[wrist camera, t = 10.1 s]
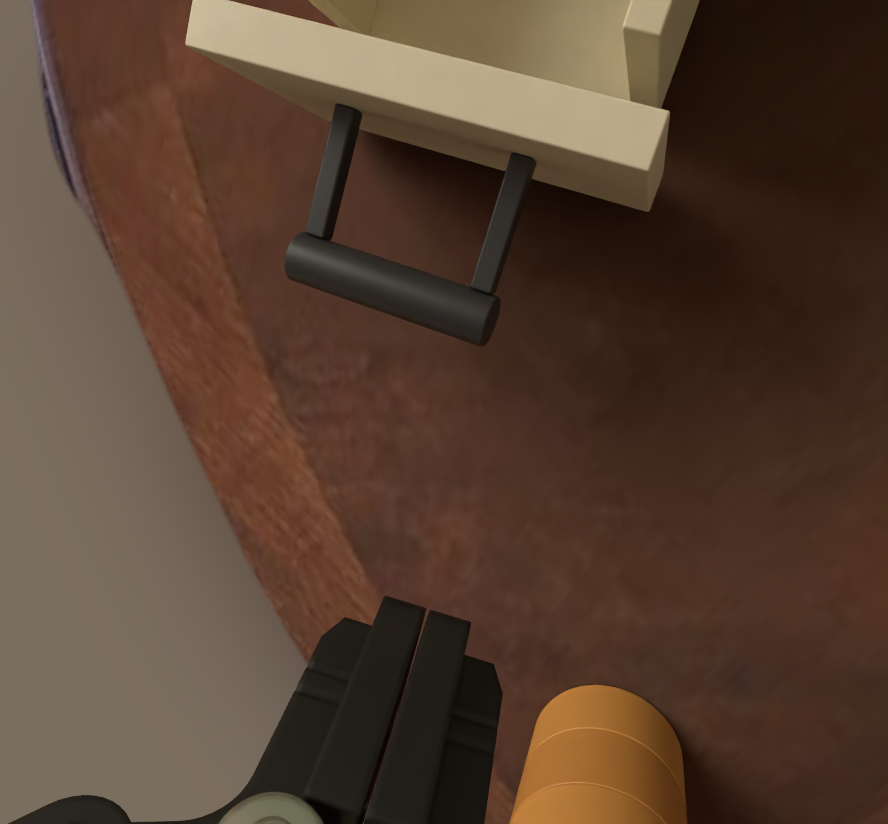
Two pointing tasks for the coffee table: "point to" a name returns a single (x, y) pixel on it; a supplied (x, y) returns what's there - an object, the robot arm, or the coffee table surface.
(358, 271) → the drawer
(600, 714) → the pink-topped orange cylinder
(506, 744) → the coffee table surface
